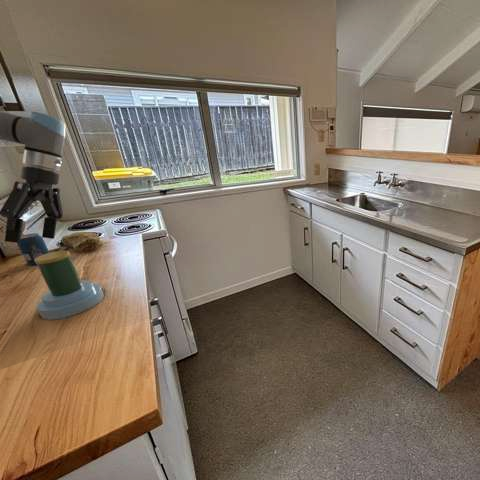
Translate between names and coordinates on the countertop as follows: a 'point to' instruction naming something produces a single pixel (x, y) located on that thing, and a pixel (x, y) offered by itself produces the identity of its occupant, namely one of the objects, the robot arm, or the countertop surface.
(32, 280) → the countertop surface
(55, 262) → the tea tin
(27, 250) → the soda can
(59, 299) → the upturned bowl
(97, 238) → the sponge
